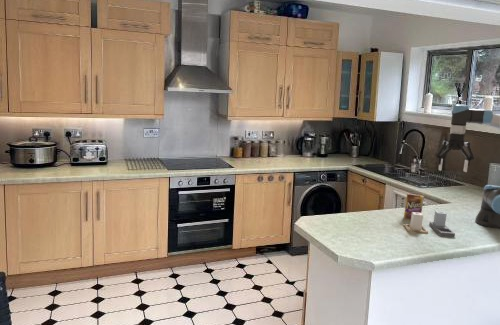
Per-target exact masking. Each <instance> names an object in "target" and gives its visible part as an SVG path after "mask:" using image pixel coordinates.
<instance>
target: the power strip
mask: <svg viewBox="0 0 500 325" xmlns="http://www.w3.org/2000/svg"><path fill="white" fill-rule="evenodd" d="M433 222H434V221H429V223H428V225H429V227H430V228H431V229H432V230H433V231H434V232H435V233H436V234H437V235H439V236H440V237H445V238H455V236H456V233H455V232H454V231H453V230H452V229H451V228H449V227H448V225H446V224H445V227H442V226H435V225H434V224H433Z"/></svg>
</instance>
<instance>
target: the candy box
mask: <svg viewBox="0 0 500 325" xmlns="http://www.w3.org/2000/svg"><path fill="white" fill-rule="evenodd" d="M405 199H406V200H405V206H404V214H403V219H408V220H411V216H412V212H417V213H421V214H423V213H422V212H423V205H424V199H425V196H424V195H423V194H422V195H421V194H415V193H410V192H408V193H407V194H406V198H405Z"/></svg>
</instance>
